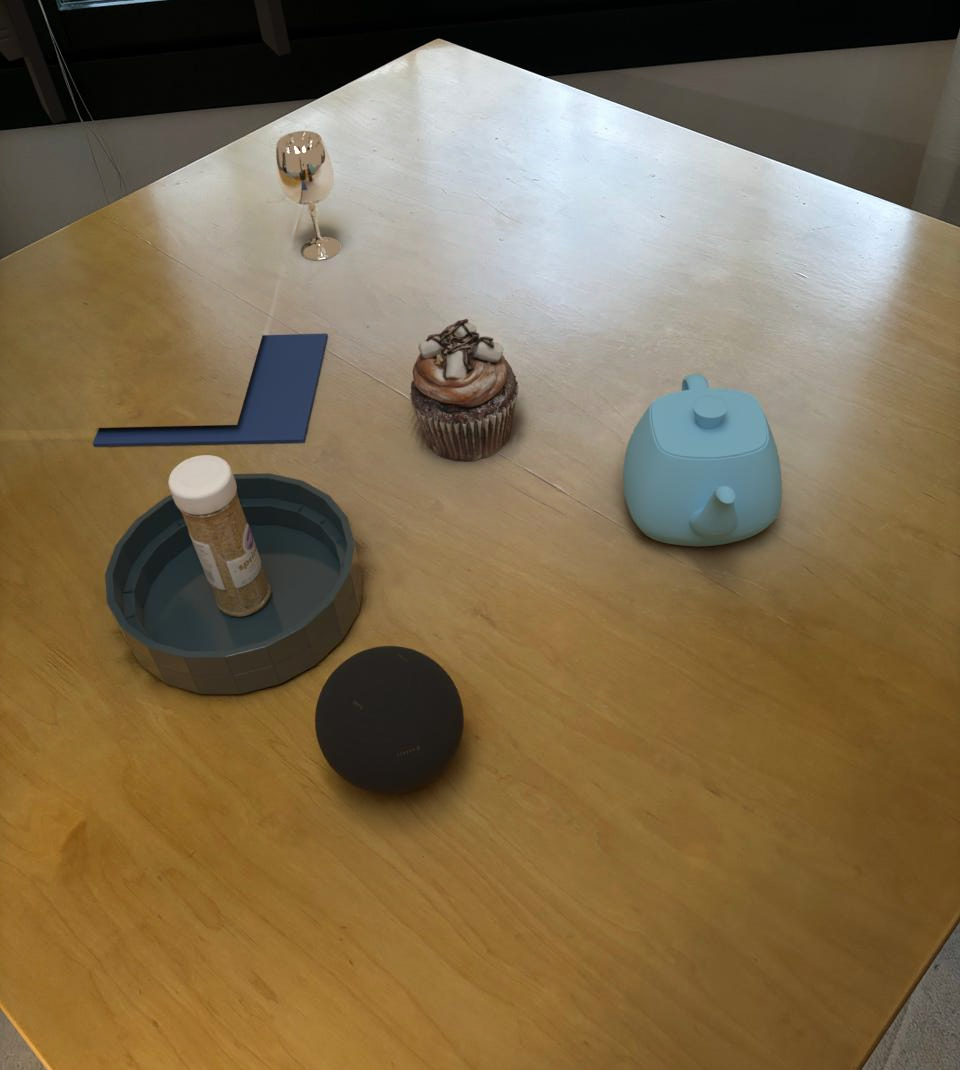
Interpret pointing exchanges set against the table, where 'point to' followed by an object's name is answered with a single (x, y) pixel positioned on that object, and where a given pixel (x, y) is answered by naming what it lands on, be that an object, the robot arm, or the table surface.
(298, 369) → the blue l-shaped plate
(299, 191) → the wineglass
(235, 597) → the sprinkles bottle
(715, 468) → the teapot
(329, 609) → the bowl
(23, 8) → the robot arm
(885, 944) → the table surface
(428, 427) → the cupcake
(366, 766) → the speaker
